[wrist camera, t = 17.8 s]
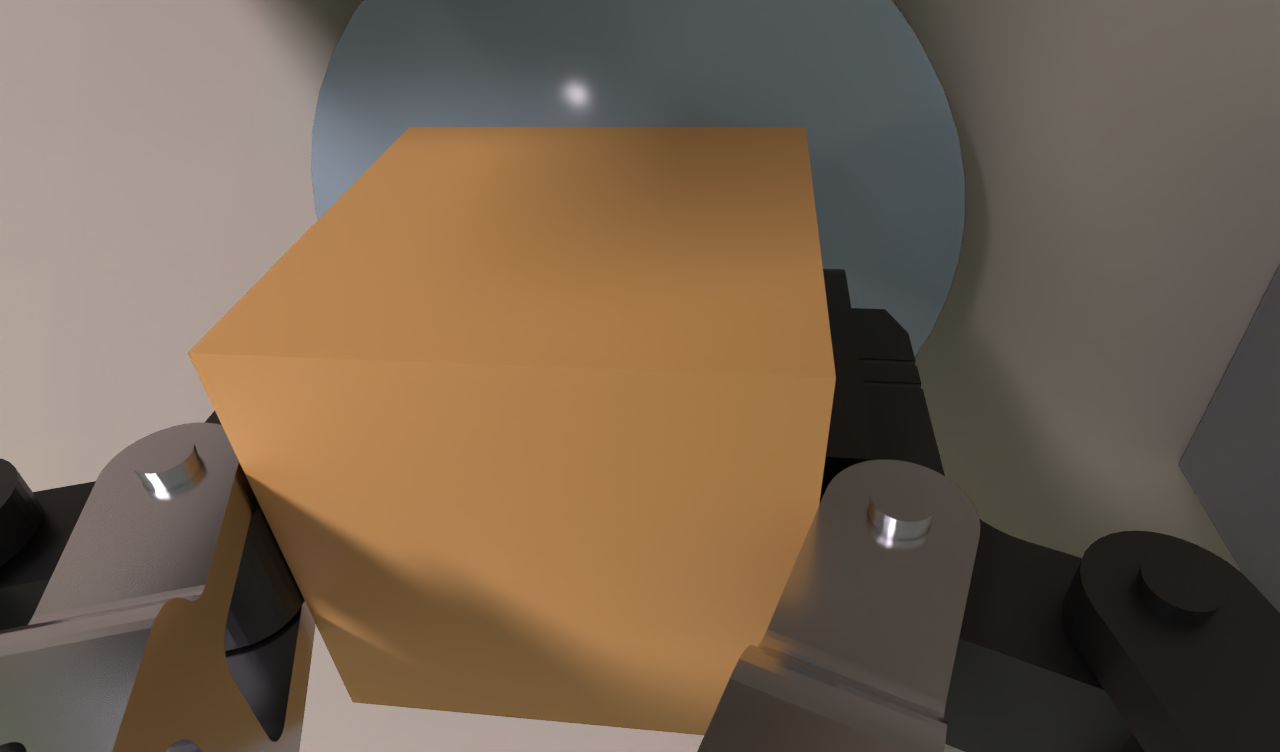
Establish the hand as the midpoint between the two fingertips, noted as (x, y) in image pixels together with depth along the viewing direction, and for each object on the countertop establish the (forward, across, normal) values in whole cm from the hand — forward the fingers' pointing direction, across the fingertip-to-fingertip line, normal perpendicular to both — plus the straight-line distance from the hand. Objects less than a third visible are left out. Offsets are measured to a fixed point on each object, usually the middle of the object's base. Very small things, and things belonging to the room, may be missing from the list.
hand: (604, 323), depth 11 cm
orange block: (+1, 0, 0) cm, 1 cm away
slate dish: (+3, 0, 0) cm, 3 cm away
